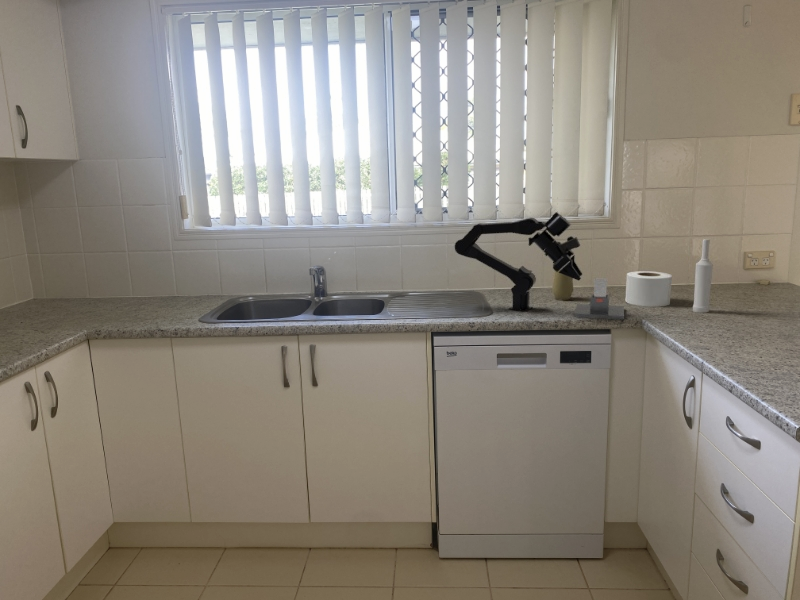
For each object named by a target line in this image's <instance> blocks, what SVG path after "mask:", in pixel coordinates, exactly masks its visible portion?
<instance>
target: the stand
mask: <svg viewBox="0 0 800 600" xmlns="http://www.w3.org/2000/svg"><path fill="white" fill-rule="evenodd" d="M589 302H590V304H588V303H586V304H585V303H576V307H575V310H574V312H573V317H574V318H589V319H606V320H607V319H608V320H609V319H610V320H624V319H625V307H624V305H615V304H614V305H612V304H611V305H610V294H606V298H598V297H594V293H591V294H590V300H589Z"/></svg>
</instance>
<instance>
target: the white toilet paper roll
mask: <svg viewBox="0 0 800 600" xmlns="http://www.w3.org/2000/svg"><path fill="white" fill-rule="evenodd" d="M672 278H673V277H672V274H669V273H666V272H660V271H651V270H650V271H647V270H646V271H645V270H644V271H643V270H641V271H631V272H630V271H629V272H628V273H626V284H625V302H626V303H627V304H629V305H633V306H638V307H651V308H654V307H657V308H659V307H665V306H670V303H671V292H672V290H671V289H672Z"/></svg>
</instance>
